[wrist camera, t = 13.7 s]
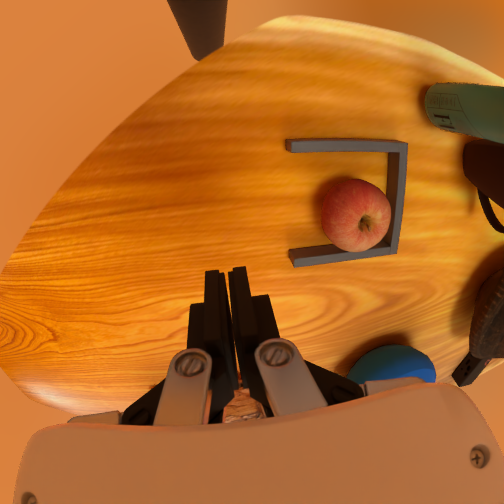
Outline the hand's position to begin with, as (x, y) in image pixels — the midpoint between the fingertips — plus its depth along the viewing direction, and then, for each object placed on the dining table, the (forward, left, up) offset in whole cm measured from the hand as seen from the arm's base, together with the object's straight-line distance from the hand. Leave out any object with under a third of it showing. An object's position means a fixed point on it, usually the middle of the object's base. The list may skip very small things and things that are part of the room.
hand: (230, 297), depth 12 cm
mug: (-1, +38, -21) cm, 43 cm away
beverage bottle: (-10, +28, -21) cm, 36 cm away
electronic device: (+50, +60, -21) cm, 81 cm away
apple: (+4, +14, -21) cm, 25 cm away
